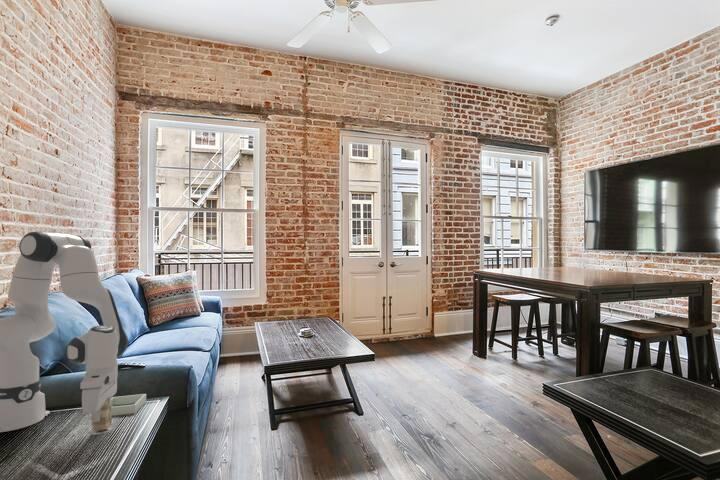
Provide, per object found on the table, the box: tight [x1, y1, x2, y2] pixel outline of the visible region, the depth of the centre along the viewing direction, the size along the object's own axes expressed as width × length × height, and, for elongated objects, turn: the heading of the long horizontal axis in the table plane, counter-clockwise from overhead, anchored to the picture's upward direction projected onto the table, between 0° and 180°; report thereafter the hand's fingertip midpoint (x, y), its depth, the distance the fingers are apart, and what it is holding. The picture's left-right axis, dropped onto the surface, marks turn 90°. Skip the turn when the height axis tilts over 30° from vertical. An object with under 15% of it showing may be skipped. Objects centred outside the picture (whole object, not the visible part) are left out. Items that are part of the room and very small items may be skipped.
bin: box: [111, 393, 147, 417], centre depth 140 cm, size 12×12×4 cm
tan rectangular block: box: [90, 397, 113, 432], centre depth 122 cm, size 4×4×9 cm
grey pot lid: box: [88, 423, 119, 436], centre depth 123 cm, size 8×8×4 cm
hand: (100, 417), depth 122 cm, fingers closed on tan rectangular block, 5 cm apart
